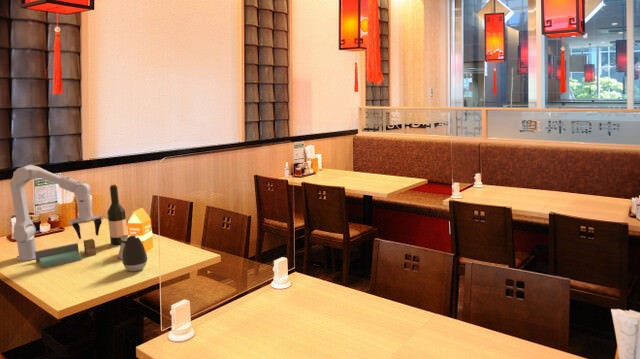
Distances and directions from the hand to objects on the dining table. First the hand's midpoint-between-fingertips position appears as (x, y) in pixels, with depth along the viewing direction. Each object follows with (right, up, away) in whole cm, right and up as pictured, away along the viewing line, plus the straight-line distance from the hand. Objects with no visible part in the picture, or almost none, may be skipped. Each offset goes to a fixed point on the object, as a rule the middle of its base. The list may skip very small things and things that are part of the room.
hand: (88, 236), depth 241 cm
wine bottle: (+8, -5, +18) cm, 20 cm away
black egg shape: (+29, -12, -20) cm, 38 cm away
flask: (+19, -9, -3) cm, 21 cm away
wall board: (-11, -10, -5) cm, 16 cm away
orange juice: (+23, -7, +6) cm, 25 cm away
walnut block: (0, -9, +2) cm, 9 cm away
